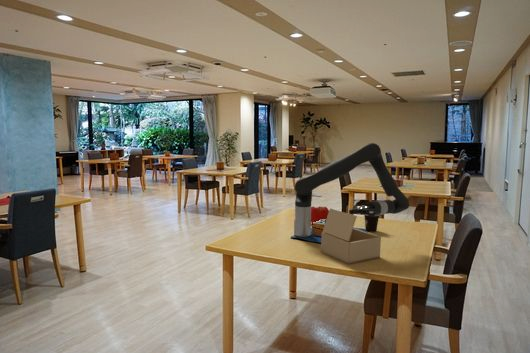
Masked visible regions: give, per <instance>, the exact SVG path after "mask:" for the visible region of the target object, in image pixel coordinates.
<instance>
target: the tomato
mask: <svg viewBox="0 0 530 353" xmlns="http://www.w3.org/2000/svg"><path fill="white" fill-rule="evenodd" d="M329 210H330V209H328V207H327V206H317V207H315V206H311V224H313V222H316V221H319V220H320V219H327V216H328V213H329Z"/></svg>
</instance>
